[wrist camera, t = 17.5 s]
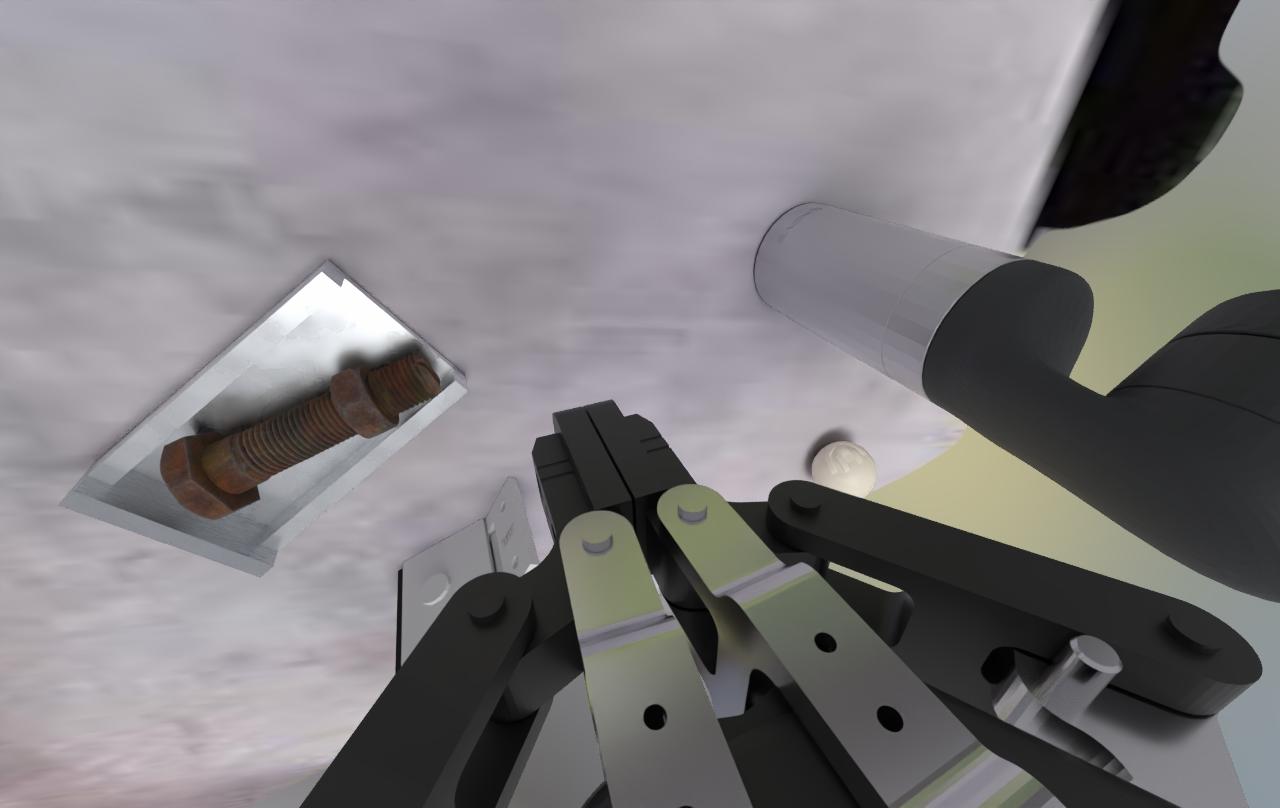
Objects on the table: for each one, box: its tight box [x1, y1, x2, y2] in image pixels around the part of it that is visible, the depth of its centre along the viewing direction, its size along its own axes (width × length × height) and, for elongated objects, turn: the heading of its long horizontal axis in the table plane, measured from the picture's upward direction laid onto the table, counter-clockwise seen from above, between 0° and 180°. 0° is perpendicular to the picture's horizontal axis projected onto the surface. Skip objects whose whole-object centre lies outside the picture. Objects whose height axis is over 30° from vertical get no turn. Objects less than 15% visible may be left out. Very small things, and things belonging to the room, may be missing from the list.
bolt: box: [160, 352, 442, 521], centre depth 30 cm, size 6×5×15 cm
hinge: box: [395, 477, 540, 675], centre depth 40 cm, size 14×5×10 cm, turn 123°
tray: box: [59, 260, 468, 577], centre depth 31 cm, size 11×19×4 cm, turn 124°
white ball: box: [812, 441, 877, 498], centre depth 55 cm, size 7×7×7 cm
